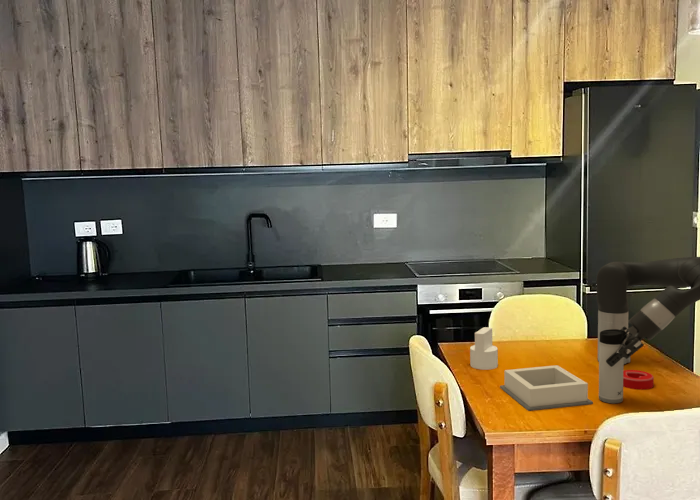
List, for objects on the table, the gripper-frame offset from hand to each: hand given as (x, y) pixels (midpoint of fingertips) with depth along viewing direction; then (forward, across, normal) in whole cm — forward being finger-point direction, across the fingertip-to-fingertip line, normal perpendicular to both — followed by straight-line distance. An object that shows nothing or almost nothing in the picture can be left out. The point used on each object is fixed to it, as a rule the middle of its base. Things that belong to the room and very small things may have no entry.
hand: (605, 360), depth 174 cm
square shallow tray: (+19, +2, +3) cm, 20 cm away
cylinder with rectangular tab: (+31, +29, +15) cm, 45 cm away
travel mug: (+7, 0, -9) cm, 12 cm away
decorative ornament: (0, +14, -16) cm, 22 cm away
